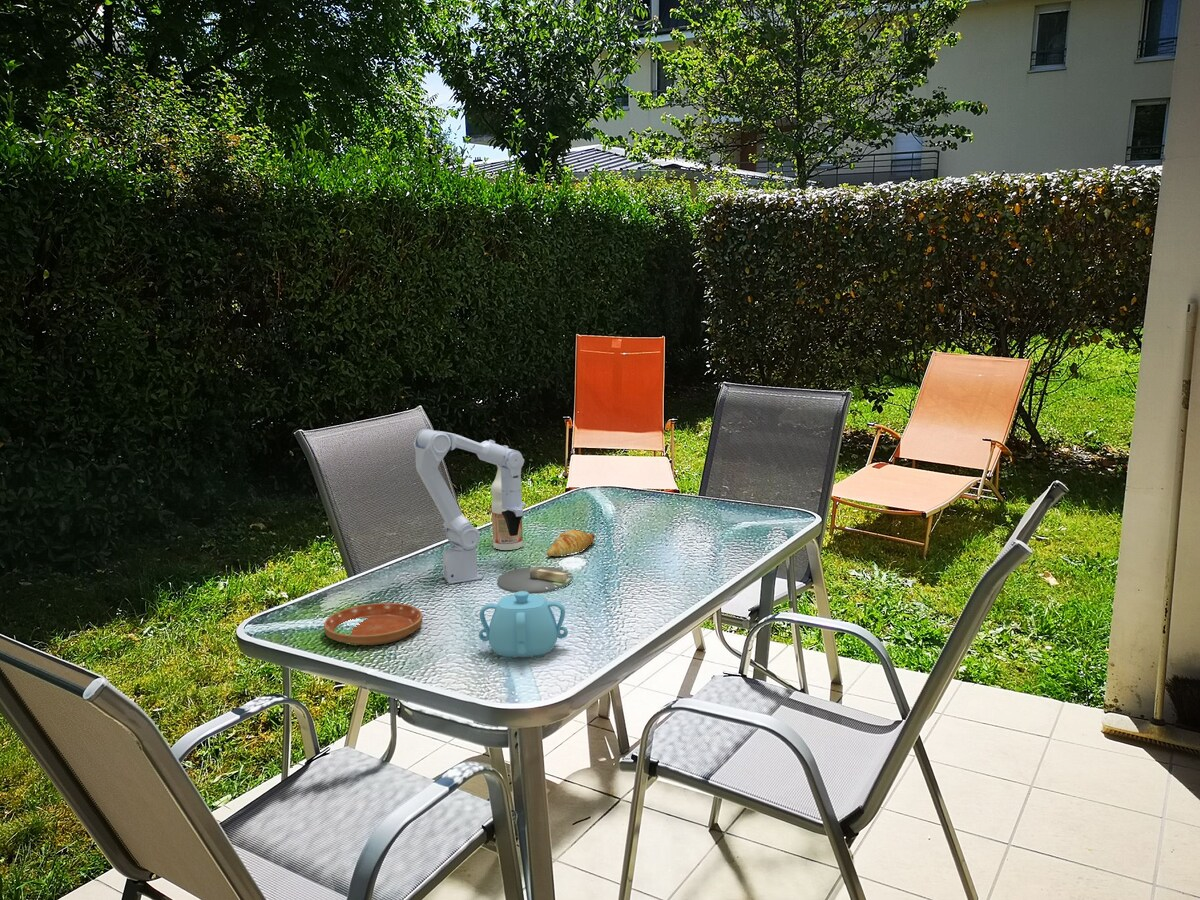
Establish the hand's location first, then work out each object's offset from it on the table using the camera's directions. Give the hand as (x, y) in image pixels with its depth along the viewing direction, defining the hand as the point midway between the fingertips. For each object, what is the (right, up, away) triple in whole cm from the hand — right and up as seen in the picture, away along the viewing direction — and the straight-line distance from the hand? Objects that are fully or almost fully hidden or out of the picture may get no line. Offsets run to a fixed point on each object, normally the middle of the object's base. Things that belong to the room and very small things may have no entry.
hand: (513, 535), depth 265 cm
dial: (+7, -12, -13) cm, 19 cm away
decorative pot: (+8, -20, -61) cm, 65 cm away
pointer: (+11, -11, -15) cm, 21 cm away
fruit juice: (-4, -6, +21) cm, 23 cm away
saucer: (-29, -19, -47) cm, 59 cm away
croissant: (+16, -7, +16) cm, 24 cm away
